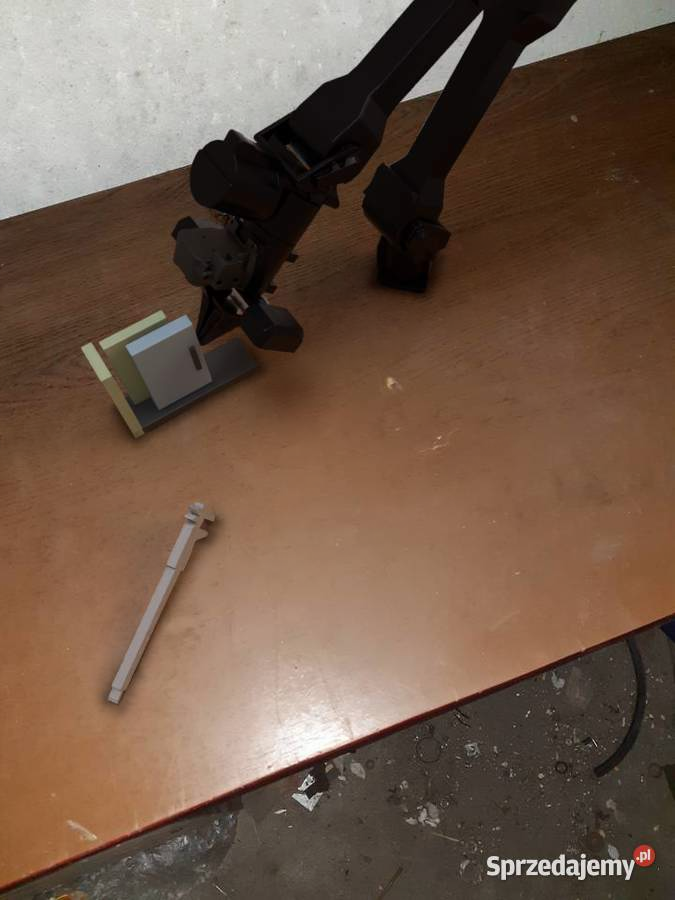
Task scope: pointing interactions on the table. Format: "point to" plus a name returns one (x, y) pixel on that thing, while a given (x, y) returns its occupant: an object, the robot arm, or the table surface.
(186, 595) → the table surface
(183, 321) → the closet door
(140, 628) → the caliper
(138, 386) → the closet frame
